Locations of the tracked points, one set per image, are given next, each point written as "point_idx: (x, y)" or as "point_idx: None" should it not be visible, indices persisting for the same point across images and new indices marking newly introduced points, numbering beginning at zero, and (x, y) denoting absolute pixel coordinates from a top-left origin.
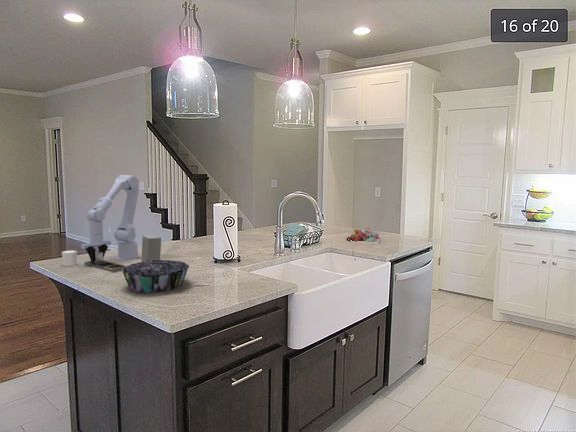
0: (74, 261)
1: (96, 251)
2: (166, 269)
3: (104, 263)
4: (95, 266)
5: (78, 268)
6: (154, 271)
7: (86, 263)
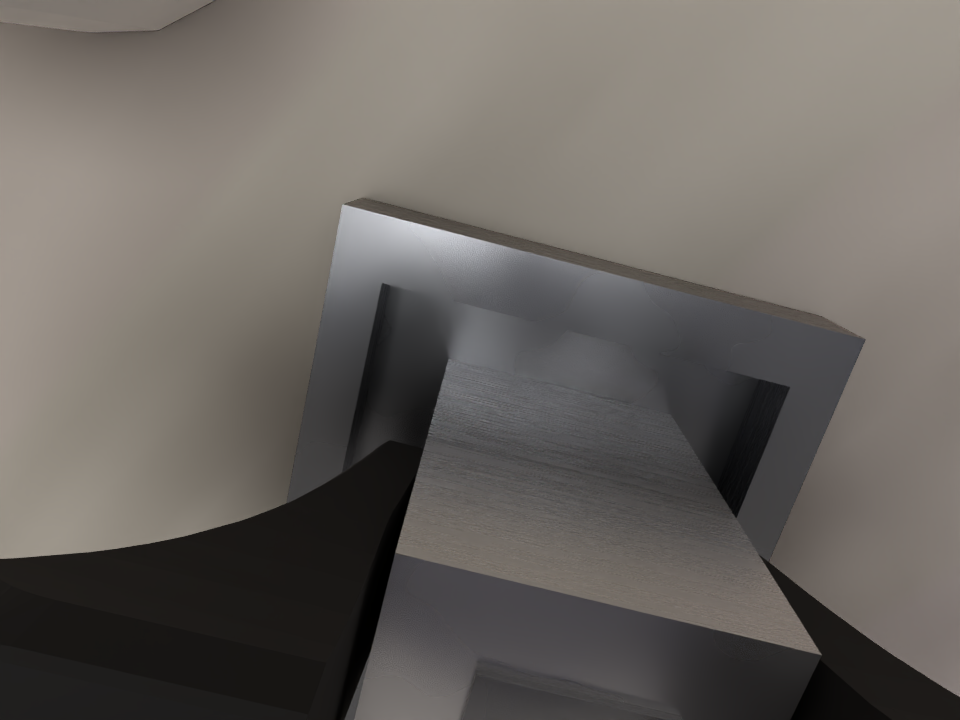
0: (18, 20)
1: (688, 654)
2: None
3: None
4: None
5: (41, 328)
6: None
7: (328, 309)
